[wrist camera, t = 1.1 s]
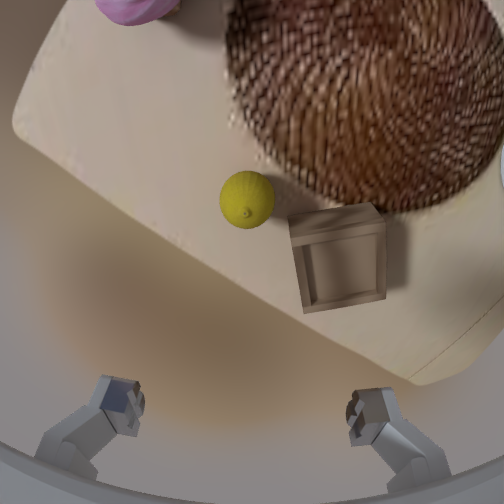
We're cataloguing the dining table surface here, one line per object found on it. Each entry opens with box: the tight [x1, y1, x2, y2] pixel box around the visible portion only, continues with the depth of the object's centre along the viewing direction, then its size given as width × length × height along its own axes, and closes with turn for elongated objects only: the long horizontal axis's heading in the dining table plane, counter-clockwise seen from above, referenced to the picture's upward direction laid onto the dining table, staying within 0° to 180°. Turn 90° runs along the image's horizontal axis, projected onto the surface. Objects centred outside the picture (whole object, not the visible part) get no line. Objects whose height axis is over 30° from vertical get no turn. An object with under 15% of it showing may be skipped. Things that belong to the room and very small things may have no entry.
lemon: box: [220, 171, 275, 229], centre depth 31 cm, size 6×6×8 cm
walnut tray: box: [288, 202, 387, 314], centre depth 36 cm, size 10×10×6 cm
